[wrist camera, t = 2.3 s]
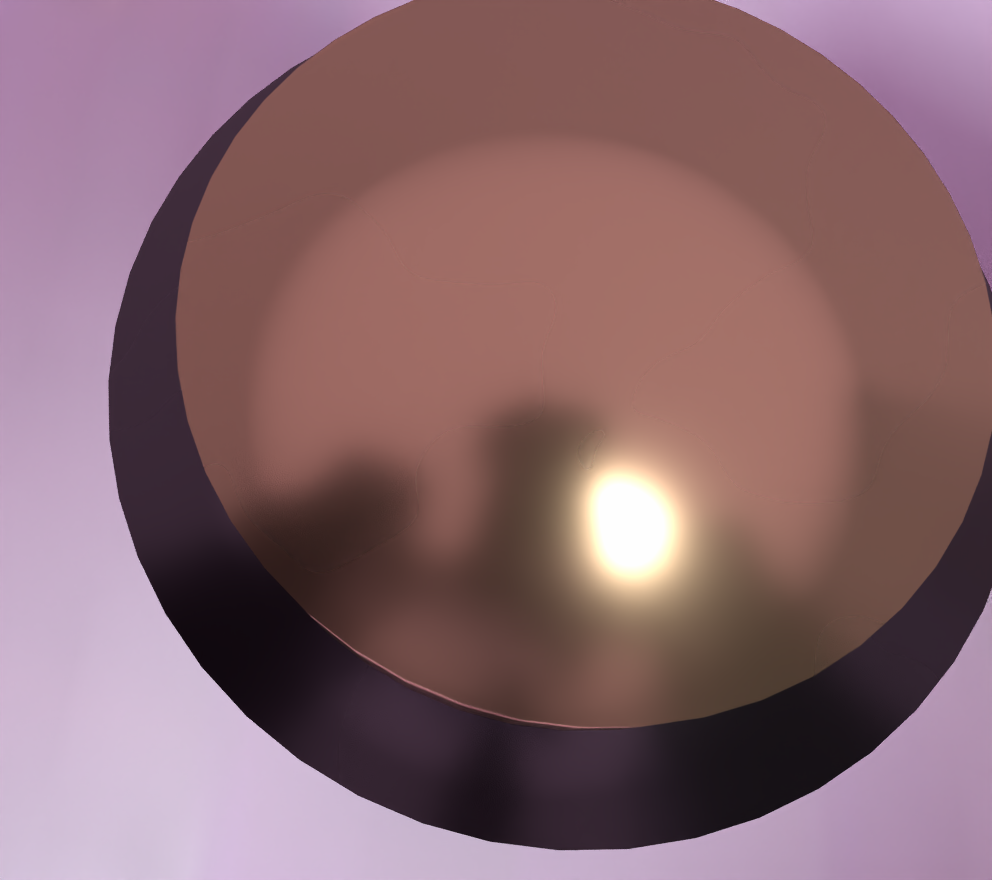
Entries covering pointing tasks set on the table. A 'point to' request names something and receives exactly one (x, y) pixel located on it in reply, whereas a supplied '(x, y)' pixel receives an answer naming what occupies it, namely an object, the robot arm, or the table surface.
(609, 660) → the dark metallic tumbler
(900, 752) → the table surface
